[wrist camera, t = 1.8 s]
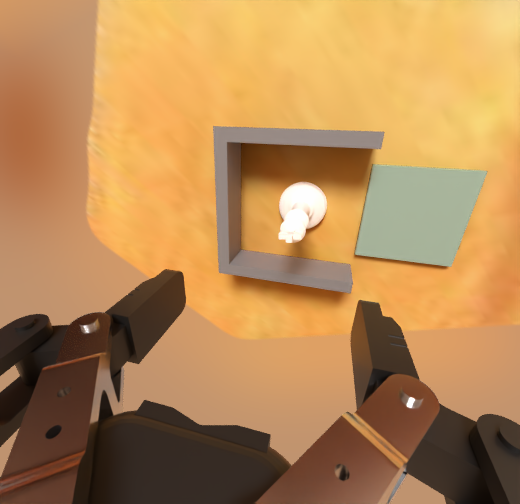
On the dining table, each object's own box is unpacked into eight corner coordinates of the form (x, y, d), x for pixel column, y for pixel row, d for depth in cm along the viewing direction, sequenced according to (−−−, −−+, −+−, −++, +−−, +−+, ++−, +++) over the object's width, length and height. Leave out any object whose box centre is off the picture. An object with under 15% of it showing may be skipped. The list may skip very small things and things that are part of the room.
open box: (376, 132, 23) (384, 131, 20) (348, 274, 29) (350, 293, 26) (229, 127, 26) (213, 126, 23) (231, 257, 32) (218, 272, 29)
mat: (483, 170, 22) (487, 171, 22) (448, 264, 26) (451, 266, 26) (372, 164, 24) (373, 164, 24) (354, 252, 28) (355, 254, 28)
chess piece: (326, 228, 28) (323, 272, 19) (280, 227, 29) (257, 268, 20) (327, 181, 26) (326, 205, 17) (278, 182, 27) (253, 205, 18)
